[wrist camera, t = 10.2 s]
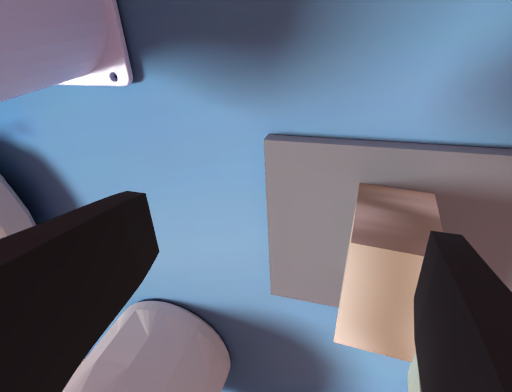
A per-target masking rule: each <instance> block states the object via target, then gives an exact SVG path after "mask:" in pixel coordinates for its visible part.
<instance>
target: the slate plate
mask: <svg viewBox="0 0 512 392" xmlns="http://www.w3.org/2000/svg"><path fill="white" fill-rule="evenodd" d="M264 154H265V175H266V197H267V219H268V241H269V263H270V284H271V294H272V295H277V296H282V297H287V298H293V299H298V300H303V301H308V302H313V303H318V304H323V305H328V306H333V307H339V302H340V296H341V289H342V282H343V276H344V269H345V264H346V258H347V252H348V246H349V240H350V234H351V229H352V223H353V217H354V211H355V205H356V199H357V194H358V188H359V183H363V184H370V185H377V186H384V187H391V188H398V189H405V190H412V191H419V192H426V193H433V194H435V197H436V202H437V206H438V211H439V215H440V220H441V224H442V229H443V232H445V233H453V234H460V235H463V237H464V238H465V239H466V240H467V241H468V242H469V243H470V245H471V246H472V247H473V248H474V249H475V250H476V252H477V253H478V254H479V255H480V256H481V258H482V259H483V260H484V261H485V262H486V263H487V265H488V266H489V267H490V268H491V269H492V270H493V271H494V273H495V274H496V275H497V276H498V277H499V278H500V279H501V281H502V282H503V283H504V284H505V285H506V286H507V287H508V288H509V290H510V291H511V292H512V149H503V148H486V147H470V146H453V145H437V144H420V143H403V142H387V141H370V140H354V139H337V138H320V137H304V136H287V135H271V134H268V135H267V136H266V138H265V139H264Z"/></svg>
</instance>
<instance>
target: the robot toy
mask: <svg viewBox="0 0 512 392" xmlns="http://www.w3.org/2000/svg"><path fill="white" fill-rule="evenodd" d="M35 225H36V224H35V222H34V220H33V218H32V216H31V214H30V212H29V211H28V209H27V208H26V207H25V205H24V204H23V203H22V201H21V200H20V199H19V197H18V196H17V195H16V193H15V192H14V191H13V189H12V188H11V187H10V186H9V184H8V183H7V182H6V180H5V178H4V177H3V176H2V175H1V174H0V239H1V238H4V237H6V236H9V235H11V234H14V233H17V232H19V231H22V230H25V229H27V228H30V227H33V226H35Z"/></svg>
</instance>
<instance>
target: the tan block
mask: <svg viewBox="0 0 512 392" xmlns="http://www.w3.org/2000/svg"><path fill="white" fill-rule="evenodd" d="M430 231H437V232H443V229H442V224H441V220H440V215H439V211H438V206H437V202H436V197H435V194H433V193H426V192H419V191H412V190H405V189H398V188H391V187H384V186H377V185H370V184H363V183H359V188H358V194H357V199H356V205H355V211H354V217H353V223H352V229H351V234H350V240H349V246H348V252H347V258H346V264H345V269H344V276H343V282H342V289H341V296H340V302H339V309H338V316H337V322H336V329H335V335H334V342H335V343H339V344H343V345H347V346H351V347H355V348H358V349H362V350H366V351H370V352H374V353H378V354H381V355H385V356H389V357H393V358H397V359H401V360H404V361H408V362H412V361H413V359H414V356H415V353H416V349H415V341H414V295H415V291H416V287H417V283H418V279H419V275H420V271H421V267H422V263H423V259H424V255H425V251H426V247H427V243H428V239H429V235H430Z"/></svg>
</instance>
